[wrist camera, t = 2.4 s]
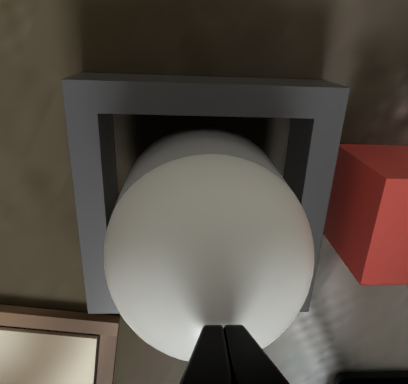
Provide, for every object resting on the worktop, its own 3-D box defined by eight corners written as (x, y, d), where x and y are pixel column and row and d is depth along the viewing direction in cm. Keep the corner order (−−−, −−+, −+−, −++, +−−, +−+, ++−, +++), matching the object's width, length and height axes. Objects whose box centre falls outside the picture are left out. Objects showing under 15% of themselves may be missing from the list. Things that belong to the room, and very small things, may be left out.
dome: (291, 128, 13) (380, 202, 7) (273, 271, 15) (328, 414, 9) (117, 124, 12) (61, 199, 7) (126, 272, 15) (90, 421, 9)
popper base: (447, 83, 14) (543, 100, 10) (392, 275, 18) (450, 340, 14) (82, 72, 13) (41, 85, 9) (101, 275, 17) (77, 345, 13)
